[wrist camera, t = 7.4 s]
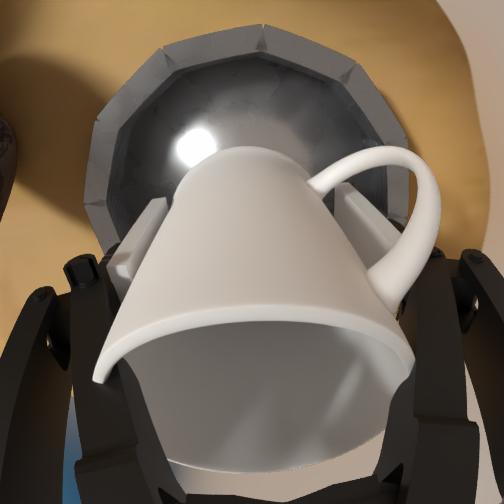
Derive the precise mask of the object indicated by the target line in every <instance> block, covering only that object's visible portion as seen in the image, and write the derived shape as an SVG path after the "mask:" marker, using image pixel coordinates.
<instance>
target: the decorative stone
mask: <svg viewBox="0 0 504 504" xmlns="http://www.w3.org/2000/svg"><path fill="white" fill-rule="evenodd" d="M16 166H17V145H16V140H15V136H14V132H13V130H12V129H11V127H10V125H9V124H8V123H7V121H6V120H5V119H4V118H3V117H2V116H1V115H0V222H1V219H2V216H3V213H4V211H5V208H6V205H7V202H8V199H9V196H10V193H11V190H12V186H13V183H14V179H15V175H16Z"/></svg>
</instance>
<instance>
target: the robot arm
mask: <svg viewBox="0 0 504 504" xmlns="http://www.w3.org/2000/svg"><path fill="white" fill-rule="evenodd" d="M168 212H169V211H168V206H167V200H166V197H163V198H156V199H152V200H151V201H150V203H149V204H148V206H147V207H146V208H145V210H144V211H143V212H142V214H141V215H140V217H139V218H138V219H137V221H136V222H135V224H134V225H133V227H132V228H131V229H130V231H129V232H128V234H127V235H126V237H125V238H124V240H123V241H122V242H119V243H116V244H115V245H113V246H112V247H111V248H109V250H108V251H107V253H106V254H105V256H104V257H103V258H102V260H101V261H100V263H99V264H98V263H97V260H96V258H95V256H94V255H92V254H83V255H79V256H77V257H75V258H73V259H71V260H70V261H68V262H67V263H66V264H65V265H64V268H63V270H64V273H65V275H66V277H67V280H68V282H69V284H70V287H71V292H69V293H65V294H61V295H58V296H57V295H56V293H55V290H54V289H53V287H51V286H45V287H42V288H41V287H40V288H38V289H36V290H35V291H34V292H33V293H32V294H31V295H30V296H29V297H28V299H27V301H26V303H25V305H24V307H23V309H22V311H21V313H20V315H19V317H18V319H17V321H16V323H15V325H14V327H13V330H12V332H11V334H10V336H9V339H8V341H7V343H6V346H5V348H4V350H3V353H2V355H1V358H0V504H62V483H63V459H64V447H65V436H66V426H67V418H68V410H69V403H70V397H71V391H72V385H73V393H74V401H75V409H76V417H77V424H78V431H79V437H80V442H81V448H82V459H80V460H78V461H76V463H75V466H74V470H75V478H76V482H77V487H78V490H79V494H80V499H81V502H82V504H475V497H476V489H477V480H478V468H479V447H480V446H479V445H480V433H479V426H478V425H477V423H476V422H473V421H469V420H468V417H467V393H466V376H465V364H466V367H467V369H468V373H469V375H470V378H471V382H472V385H473V388H474V391H475V395H476V398H477V401H478V405H479V408H480V412H481V416H482V419H483V423H484V428H485V432H486V436H487V441H488V445H489V450H490V455H491V461H492V466H493V470H494V475H495V479H496V483H497V486H498V489H499V492H500V495H501V497H502V499H503V500H502V503H500V504H504V278H503V276H502V275H501V274H500V272H499V271H498V270H497V268H496V267H495V266H494V264H493V263H492V262H491V260H490V259H489V258H488V257H487V256H486V255H485V254H483V253H482V252H481V251H479V250H478V251H477V250H476V249H465V250H463V251H462V254H461V257H460V260H454V259H446V258H445V255H444V253H443V252H442V251H441V250H440V249H438V248H436V247H433V249H432V252H431V254H430V256H429V258H428V260H427V262H426V264H425V266H424V268H423V269H422V271H421V273H420V274H419V276H418V277H417V279H416V280H415V282H414V283H413V285H412V286H411V287H410V289H409V290H408V292H407V293H406V294H405V296H404V297H403V299H402V300H401V302H400V306H399V310H398V313H397V317H396V320H397V321H398V320H399V326H400V328H401V330H402V331H403V333H404V335H405V337H406V339H407V341H408V343H409V345H410V347H411V349H412V351H413V354H414V356H415V363H414V365H413V368H412V370H411V373H410V375H409V377H408V378H407V379H406V380H404V381H403V382H402V383H401V384H400V385H399V387H398V388H397V390H396V392H395V394H394V396H393V398H392V400H391V402H390V407H389V413H388V419H387V425H386V430H385V435H384V440H383V444H382V449H381V453H380V457H379V461H378V464H377V466H376V468H375V470H374V472H373V474H372V476H368V477H365V478H360V479H356V480H352V481H347V482H343V483H338V484H333V485H331V486H328V487H326V488H323V489H321V490H318V491H316V492H313V493H311V494H308V495H306V496H303V497H300V498H297V499H295V500H292V501H289V502H273V501H265V500H259V499H252V498H247V497H242V496H236V495H204V494H187V495H186V494H185V492H184V491H183V489H182V488H181V486H180V485H179V483H178V482H177V480H176V478H175V476H174V474H173V472H172V469H171V467H170V465H169V463H168V460H167V458H166V455H165V453H164V451H163V448H162V446H161V443H160V441H159V438H158V435H157V433H156V430H155V428H154V425H153V422H152V419H151V417H150V414H149V411H148V408H147V405H146V402H145V399H144V396H143V393H142V390H141V387H140V384H139V381H138V379H137V377H136V375H135V373H134V372H133V370H132V368H131V367H130V365H129V364H128V362H127V361H126V360H125V359H124V358H123V357H122V358H121V359H120V360H119V361H118V362H117V363H116V364H115V365H114V366H113V369H112V371H111V373H110V375H109V377H108V378H107V380H106V381H105V383H103V384H101V383H97V382H95V381H93V374H94V370H95V366H96V364H97V361H98V358H99V356H100V353H101V351H102V348H103V346H104V343H105V341H106V339H107V336H108V334H109V332H110V329H111V327H112V325H113V322H114V320H115V318H116V316H117V313H118V311H119V309H120V307H121V305H122V302H123V300H124V298H125V296H126V294H127V292H128V290H129V288H130V285H131V283H132V281H133V279H134V277H135V275H136V273H137V271H138V269H139V267H140V265H141V263H142V261H143V259H144V257H145V255H146V253H147V251H148V249H149V248H150V246H151V244H152V242H153V240H154V238H155V236H156V234H157V232H158V231H159V229H160V227H161V225H162V223H163V221H164V220H165V218H166V216H167V214H168ZM334 219H335V220H336V222H337V223H338V225H339V226H340V228H341V229H342V231H343V233H344V234H345V236H346V237H347V239H348V240H349V242H350V243H351V245H352V246H353V248H354V250H355V251H356V253H357V254H358V256H359V258H360V259H361V261H362V262H363V264H364V266H365V267H366V269H367V270H368V269H369V268H371V267H372V266H373V265H375V264H376V263H377V262H378V261H379V260H381V259H382V258H383V257H384V256H385V255H386V254H387V253H388V252H389V251H390V250H391V248H392V247H393V246H394V245H395V243H396V242H397V241H398V239H399V238H400V236H401V235H402V233H403V231H404V230H405V227H404V226H403V225H402V224H401V223H399V222H397V221H395V220H393V219H386V218H385V217H384V216H383V215H382V214H381V213H380V212H379V211H378V210H377V209H376V208H375V207H374V206H373V205H372V204H371V203H370V202H369V201H368V200H367V199H366V198H365V197H364V196H363V195H362V194H360V193H359V192H358V191H357V190H356V189H355V188H354V187H353V186H352V185H351V184H350V183H349V182H347V183H339V184H338V185H337V186H335V201H334ZM477 298H478V304H479V305H478V310H477V308H476V306H475V303H476V301H477ZM47 340H48V342H49V345H48V346H47ZM464 361H465V364H464Z"/></svg>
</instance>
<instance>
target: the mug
mask: <svg viewBox="0 0 504 504" xmlns="http://www.w3.org/2000/svg"><path fill="white" fill-rule="evenodd" d="M385 165H397V166H402V167H405V168H408V169H410V170H411V171H412V172H414V174H415V175H416V178H417V184H418V192H417V199H416V204H415V207H414V210H413V213H412V216H411V218H410V220H409V222H408V224H407V226H406V228H405V230H404V231H403V233H402V235H401V236H400V238H399V239H398V241H397V242H396V243H395V245H394V246H393V247H392V248H391V250H390V251H389V252H388V253H387V254H386V255H385V256H384V257H383V258H382V259H381V260H379V261H378V262H377V263H376V264H375V265H373V266H372V267H371V268H369V269H368V270H367V269H366V267H365V266H364V264H363V262H362V261H361V259H360V258H359V256H358V254H357V253H356V251H355V250H354V248H353V246H352V245H351V243H350V242H349V240H348V239H347V237H346V236H345V234H344V233H343V231H342V229H341V228H340V226H339V225H338V223H337V222H336V220H335V219H334V217H333V216H332V214H331V213H330V212H329V210H328V209H327V207H326V206H325V204H324V203H323V201H322V199H323V198H324V197H325V195H326V194H327V193H328V192H329V191H330V190H331V189H333V188H334V187H335V186H337V185H338V184H339V183H341V182H343V181H344V180H346V179H348V178H349V177H351V176H353V175H355V174H357V173H360V172H362V171H365V170H367V169H371V168H374V167H379V166H385ZM440 221H441V196H440V191H439V187H438V184H437V181H436V179H435V177H434V175H433V173H432V171H431V170H430V168H429V167H428V165H427V164H426V163H425V162H424V161H423V160H422V159H421V158H420V157H419V156H418V155H416V154H415V153H413V152H411V151H409V150H407V149H405V148H401V147H396V146H378V147H372V148H368V149H364V150H361V151H358V152H356V153H353V154H351V155H349V156H347V157H344V158H343V159H341V160H339V161H337V162H335V163H334V164H332V165H330V166H329V167H327V168H326V169H324V170H323V171H321V172H320V173H318V174H317V175H315V176H314V177H312V178H311V176H310V175H309V174H308V173H307V171H306V170H305V169H304V168H303V167H302V166H301V165H299V164H298V163H297V162H296V161H294V160H293V159H291V158H290V157H288V156H286V155H284V154H282V153H280V152H277V151H275V150H271V149H268V148H263V147H257V146H239V147H232V148H228V149H224V150H221V151H218V152H216V153H213V154H211V155H209V156H208V157H206V158H204V159H203V160H201V161H200V162H198V163H197V164H196V165H195V166H194V167H192V168H191V169H190V170H189V172H188V173H187V174H186V175H185V176H184V178H183V179H182V181H181V182H180V184H179V185H178V187H177V189H176V192H175V194H174V197H173V200H172V204H171V209H170V210H169V212H168V214H167V216H166V218H165V220H164V221H163V223H162V225H161V227H160V229H159V231H158V232H157V234H156V236H155V238H154V240H153V242H152V244H151V246H150V248H149V249H148V251H147V253H146V255H145V257H144V259H143V261H142V263H141V265H140V267H139V269H138V271H137V273H136V275H135V277H134V279H133V281H132V283H131V285H130V288H129V290H128V292H127V294H126V296H125V298H124V300H123V302H122V305H121V307H120V309H119V311H118V313H117V316H116V318H115V320H114V322H113V325H112V327H111V329H110V332H109V334H108V336H107V339H106V341H105V343H104V346H103V348H102V351H101V353H100V356H99V358H98V361H97V364H96V366H95V370H94V374H93V381H95V382H97V383H101V384H103V383H105V381H106V380H107V378H108V377H109V375H110V373H111V371H112V369H113V366H114V365H115V364H116V363H117V362H118V361H119V360H120V359H121V358H122V357H123V358H124V359H125V360H126V361H127V362H128V364H129V365H130V367H131V368H132V370H133V372H134V373H135V375H136V377H137V379H138V381H139V384H140V387H141V390H142V393H143V396H144V399H145V402H146V405H147V408H148V411H149V414H150V417H151V419H152V422H153V425H154V428H155V430H156V433H157V435H158V438H159V441H160V443H161V446H162V448H163V451H164V453H165V455H166V458H167V460H169V461H172V462H175V463H178V464H181V465H185V466H189V467H193V468H198V469H202V470H208V471H215V472H224V473H240V474H256V473H271V472H280V471H287V470H293V469H298V468H303V467H307V466H311V465H315V464H318V463H321V462H324V461H327V460H330V459H333V458H336V457H338V456H341V455H343V454H345V453H347V452H349V451H351V450H354V449H356V448H357V447H359V446H361V445H363V444H365V443H366V442H368V441H369V440H371V439H373V438H374V437H376V436H377V435H378V434H380V433H381V432H382V431H384V430H385V429H386V425H387V419H388V413H389V407H390V402H391V400H392V398H393V396H394V394H395V392H396V390H397V388H398V387H399V385H400V384H401V383H402V382H403V381H404V380H406V379H407V378H408V377H409V375H410V373H411V370H412V368H413V365H414V363H415V356H414V354H413V351H412V349H411V347H410V345H409V343H408V341H407V339H406V337H405V335H404V333H403V331H402V330H401V328H400V326H399V324H398V322H397V320H396V319H395V317H394V315H393V314H395V313H396V311H397V308H398V306H399V304H400V302H401V300H402V299H403V297H404V296H405V294H406V293H407V292H408V290H409V289H410V287H411V286H412V285H413V283H414V282H415V280H416V279H417V277H418V276H419V274H420V273H421V271H422V269H423V268H424V266H425V264H426V262H427V260H428V258H429V256H430V254H431V252H432V249H433V247H434V244H435V241H436V238H437V235H438V231H439V227H440Z"/></svg>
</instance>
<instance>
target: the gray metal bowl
mask: <svg viewBox="0 0 504 504" xmlns="http://www.w3.org/2000/svg"><path fill="white" fill-rule="evenodd" d="M163 49H164V50H162V49H160V48H159V49H158V50H157V51H156V52H155V53H154V54H153V55H152V56H151V57H150V58H149V59H148V60H147V61H146V62H145V63H144V64H143V65H142V66H141V67H140V68H139V69H138V70H137V71H136V72H135V73H134V74H133V76H132V77H131V78H130V79H129V80H128V81H127V82H126V83H125V84H124V85H123V86H122V88H121V89H120V90H119V91H118V92H117V93H116V94H115V96H114V97H113V98H112V99H111V100H110V102H109V103H108V104H107V105H106V106H105V108H104V109H103V110H102V111H101V112H100V114H99V115H98V116H97V119H98V120H96V121H95V123H94V128H93V134H92V139H91V145H90V151H89V158H88V165H87V172H86V180H85V189H84V199H83V203H86V204H85V205H84V208H85V210H86V213H87V215H88V218H89V220H90V223H91V225H92V228H93V230H94V232H95V235H96V237H97V239H98V241H99V244H100V246H101V248H102V250H103V253H104V255H105V254H106V253H107V251H108V250H109V248H111V247H112V246H113V245H115V244H116V243H119V242H122V241H123V240H124V238H125V237H126V235H127V234H128V232H129V231H130V229H131V228H132V227H133V225H134V224H135V222H136V221H137V219H138V218H139V217H140V215H141V214H142V212H143V211H144V210H145V208H146V207H147V206H148V204H149V203H150V201H151V200H152V199H156V198H163V197H166V200H167V206H168V211H169V210H170V209H171V204H172V200H173V197H174V194H175V192H176V189H177V187H178V185H179V184H180V182H181V181H182V179H183V178H184V176H185V175H186V174H187V173H188V172H189V170H190V169H191V168H192V167H194V166H195V165H196V164H197V163H198V162H200V161H201V160H203V159H204V158H206V157H208V156H209V155H211V154H213V153H216V152H218V151H221V150H224V149H228V148H232V147H239V146H257V147H263V148H268V149H271V150H275V151H277V152H280V153H282V154H284V155H286V156H288V157H290V158H291V159H293V160H294V161H296V162H297V163H298V164H299V165H301V166H302V167H303V168H304V169H305V170H306V171H307V173H308V174H309V175H310V176H311V178H312V177H314V176H315V175H317V174H318V173H320V172H321V171H323V170H324V169H326V168H327V167H329V166H330V165H332V164H334V163H335V162H337V161H339V160H341V159H343V158H344V157H347V156H349V155H351V154H353V153H356V152H358V151H361V150H364V149H368V148H372V147H378V146H396V147H401V148H405V149H407V150H408V139H406V138H405V137H406V134H405V132H404V130H403V129H402V127H401V125H400V124H399V122H398V120H397V119H396V117H395V115H394V114H393V112H392V111H391V109H390V107H389V106H388V104H387V103H386V101H385V100H384V98H383V97H382V95H381V94H380V92H379V91H378V89H377V88H376V86H375V85H374V83H373V82H372V81H371V79H370V78H369V76H368V75H367V74H366V72H365V71H364V70H363V68H362V67H361V65H360V64H359V63H357V64H355V62H356V61H355V60H353V59H351V58H349V57H347V56H345V55H343V54H341V53H339V52H336V51H334V50H332V49H330V48H327V47H325V46H323V45H321V44H318V43H316V42H313V41H311V40H308V39H306V38H303V37H301V36H298V35H295V34H293V33H290V32H287V31H284V30H282V29H279V28H276V27H273V26H270V25H267V24H265V26H264V29H263V28H262V24H257V25H250V26H244V27H239V28H233V29H228V30H223V31H218V32H214V33H209V34H205V35H201V36H197V37H193V38H189V39H186V40H182V41H179V42H175V43H172V44H169V45H165V46H163ZM347 182H349V183H350V184H351V185H352V186H353V187H354V188H355V189H356V190H357V191H358V192H359V193H360V194H362V195H363V196H364V197H365V198H366V199H367V200H368V201H369V202H370V203H371V204H372V205H373V206H374V207H375V208H376V209H377V210H378V211H379V212H380V213H381V214H382V215H383V216H384V217H385V218H386V219H393V220H395V221H397V222H399V223H401V224H402V225H403V226H404V225H405V223H406V221H407V218H406V217H408V209H409V169H408V168H405V167H402V166H397V165H385V166H379V167H374V168H371V169H367V170H365V171H362V172H360V173H357V174H355V175H353V176H351V177H349V178H348V179H346V180H344V181H343V182H341V183H347ZM322 201H323V203H324V204H325V206H326V207H327V209H328V210H329V212H330V213H331V214H332V216H333V217H334V201H335V187H334V188H333V189H331V190H330V191H329V192H328V193H327V194H326V195H325V197H324V198H323V199H322Z"/></svg>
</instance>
